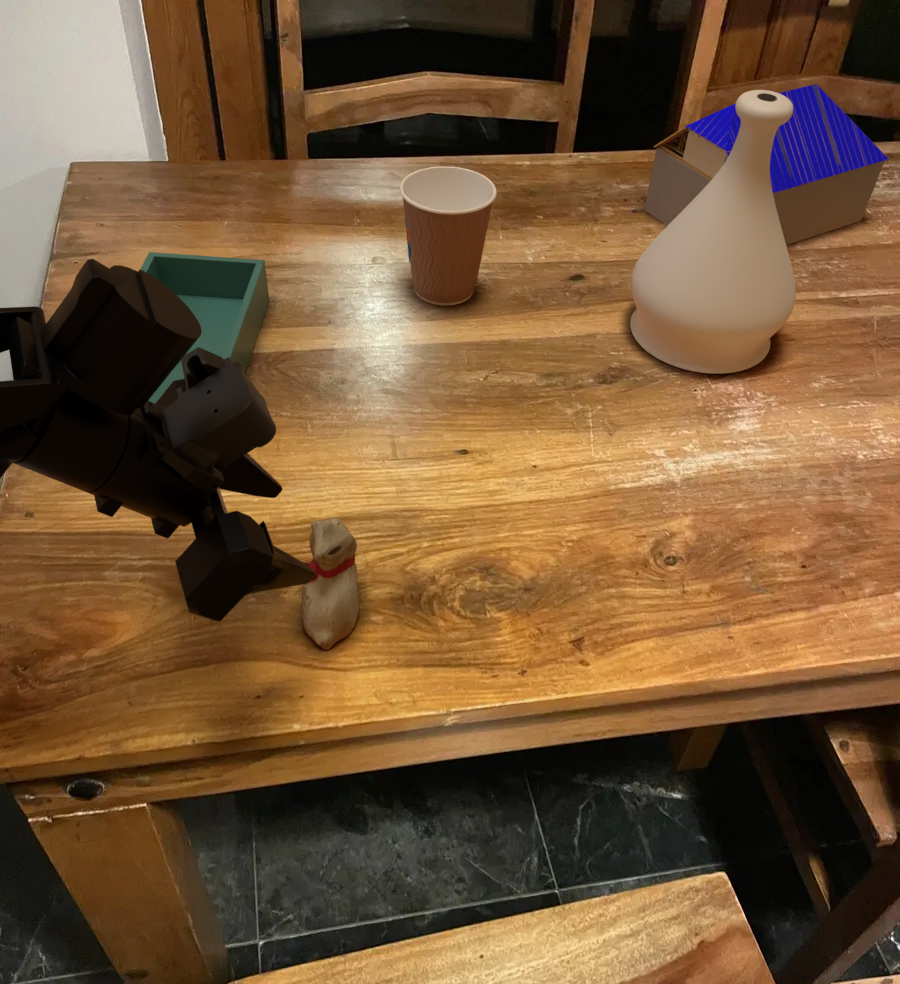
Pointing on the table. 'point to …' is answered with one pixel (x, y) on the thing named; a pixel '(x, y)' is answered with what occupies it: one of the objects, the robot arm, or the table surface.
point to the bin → (215, 302)
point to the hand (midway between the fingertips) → (294, 533)
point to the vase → (721, 260)
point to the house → (777, 165)
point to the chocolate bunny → (331, 584)
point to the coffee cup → (446, 230)
